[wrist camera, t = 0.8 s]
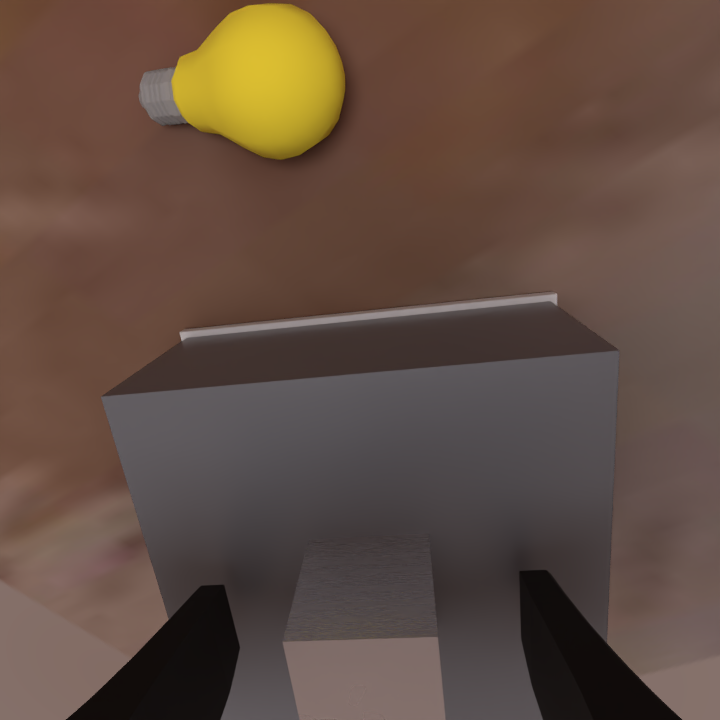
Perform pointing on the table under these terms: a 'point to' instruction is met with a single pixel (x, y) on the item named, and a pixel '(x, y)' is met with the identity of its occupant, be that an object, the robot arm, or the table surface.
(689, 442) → the table surface
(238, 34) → the light bulb
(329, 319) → the mat
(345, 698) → the cover
